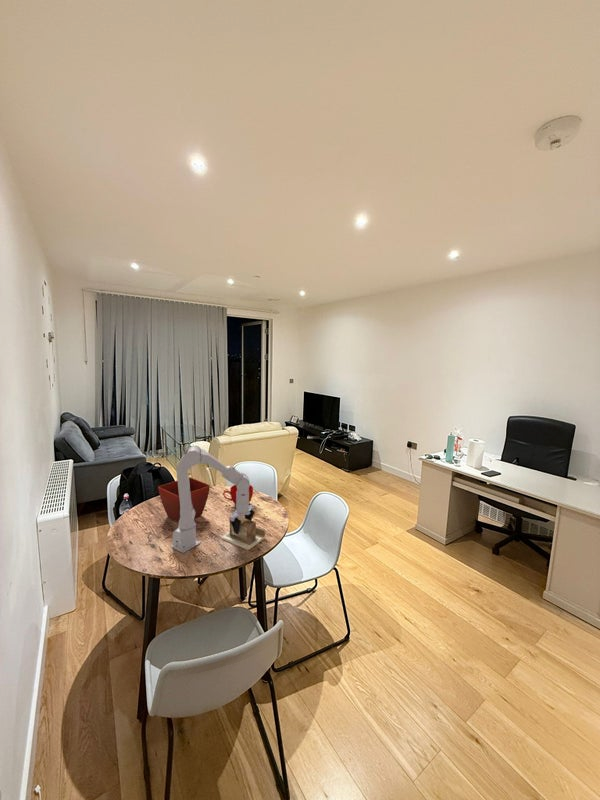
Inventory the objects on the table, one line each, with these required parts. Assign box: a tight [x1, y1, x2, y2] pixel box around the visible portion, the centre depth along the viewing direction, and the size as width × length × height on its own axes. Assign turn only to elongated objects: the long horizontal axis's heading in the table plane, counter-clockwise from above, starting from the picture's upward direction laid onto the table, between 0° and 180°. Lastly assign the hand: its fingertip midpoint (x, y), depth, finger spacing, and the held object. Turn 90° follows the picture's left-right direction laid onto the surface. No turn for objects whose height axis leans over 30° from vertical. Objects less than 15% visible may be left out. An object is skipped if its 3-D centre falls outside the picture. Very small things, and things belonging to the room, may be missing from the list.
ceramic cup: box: [222, 484, 254, 506], centre depth 186 cm, size 13×17×10 cm
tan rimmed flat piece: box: [221, 526, 266, 551], centre depth 150 cm, size 12×16×4 cm
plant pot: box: [157, 476, 211, 524], centre depth 169 cm, size 19×19×17 cm
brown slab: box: [229, 516, 257, 543], centre depth 149 cm, size 4×12×8 cm, turn 58°
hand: (242, 529), depth 149 cm, fingers open, 7 cm apart
